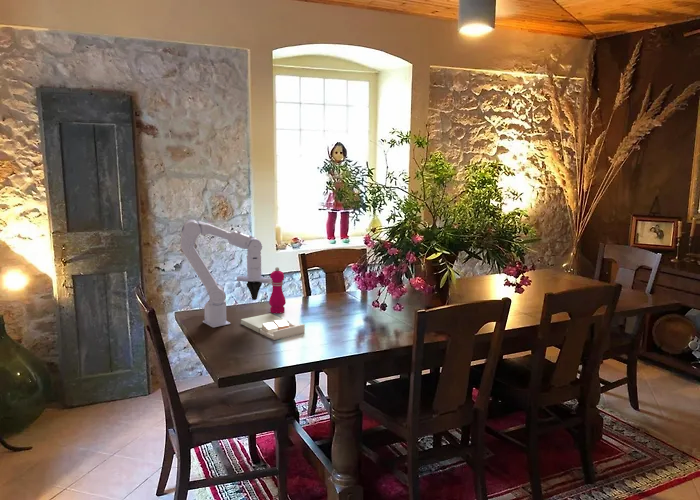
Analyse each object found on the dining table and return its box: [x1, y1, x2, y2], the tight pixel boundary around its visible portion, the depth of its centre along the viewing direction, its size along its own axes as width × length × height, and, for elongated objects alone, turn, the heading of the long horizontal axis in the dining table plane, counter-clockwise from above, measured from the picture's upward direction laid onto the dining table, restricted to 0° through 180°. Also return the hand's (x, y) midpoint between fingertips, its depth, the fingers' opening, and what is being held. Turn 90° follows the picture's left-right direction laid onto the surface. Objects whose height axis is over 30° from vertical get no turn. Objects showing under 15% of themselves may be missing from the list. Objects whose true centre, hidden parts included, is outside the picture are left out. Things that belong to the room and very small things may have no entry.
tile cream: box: [262, 322, 278, 334], centre depth 219 cm, size 4×4×2 cm
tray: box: [259, 322, 306, 341], centre depth 219 cm, size 10×14×4 cm
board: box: [240, 312, 290, 334], centre depth 229 cm, size 14×14×2 cm
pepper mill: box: [268, 266, 287, 314], centre depth 246 cm, size 7×7×20 cm
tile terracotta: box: [274, 319, 289, 330], centre depth 222 cm, size 4×4×2 cm
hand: (254, 299), depth 232 cm, fingers closed
